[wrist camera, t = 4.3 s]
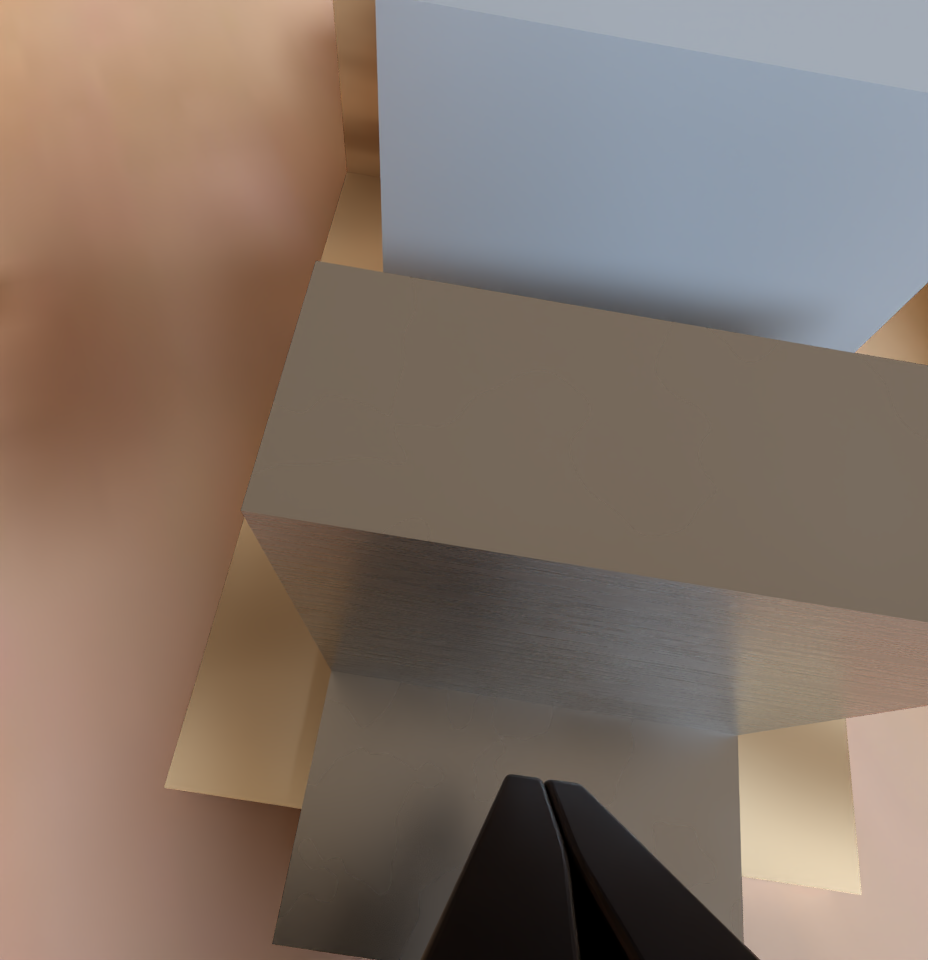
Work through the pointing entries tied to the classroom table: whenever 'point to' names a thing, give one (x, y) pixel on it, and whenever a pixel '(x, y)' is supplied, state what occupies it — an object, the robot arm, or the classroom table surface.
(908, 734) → the classroom table surface
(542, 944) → the robot arm
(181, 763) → the shelf
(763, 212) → the blue book
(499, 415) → the bookend
